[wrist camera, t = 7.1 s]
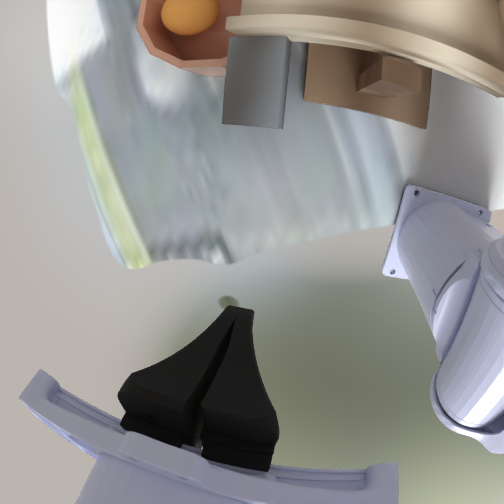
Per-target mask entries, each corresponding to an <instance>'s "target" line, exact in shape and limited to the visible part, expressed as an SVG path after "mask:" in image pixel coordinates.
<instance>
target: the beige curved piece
mask: <svg viewBox="0 0 504 504" xmlns="http://www.w3.org/2000/svg"><path fill="white" fill-rule="evenodd" d="M225 29H226V30H228V31H230V32H232V33H233V34H235V35H237V37H229V44H228V54H227V65H226V77H225V89H224V102H223V116H222V124H231V125H244V126H255V127H265V128H274V129H283V123H284V113H285V103H286V92H287V82H288V71H289V60H290V48H291V41H294V42H308V43H319V44H328V45H336V46H343V47H349V48H355V49H361V50H366V51H371V52H375V53H380V54H384V55H388V56H392V57H396V58H400V59H403V60H407V61H410V62H414V63H417V64H420V65H423V66H426V67H429V68H432V69H435V70H438V71H440V72H443V73H446V74H448V75H451V76H453V77H456V78H458V79H460V80H463V81H465V82H467V83H470V84H472V85H474V86H476V87H478V88H480V89H482V90H484V91H486V92H488V93H490V94H492V95H494V96H496V97H504V0H242V6H241V14H240V16H231V17H226V26H225Z"/></svg>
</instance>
